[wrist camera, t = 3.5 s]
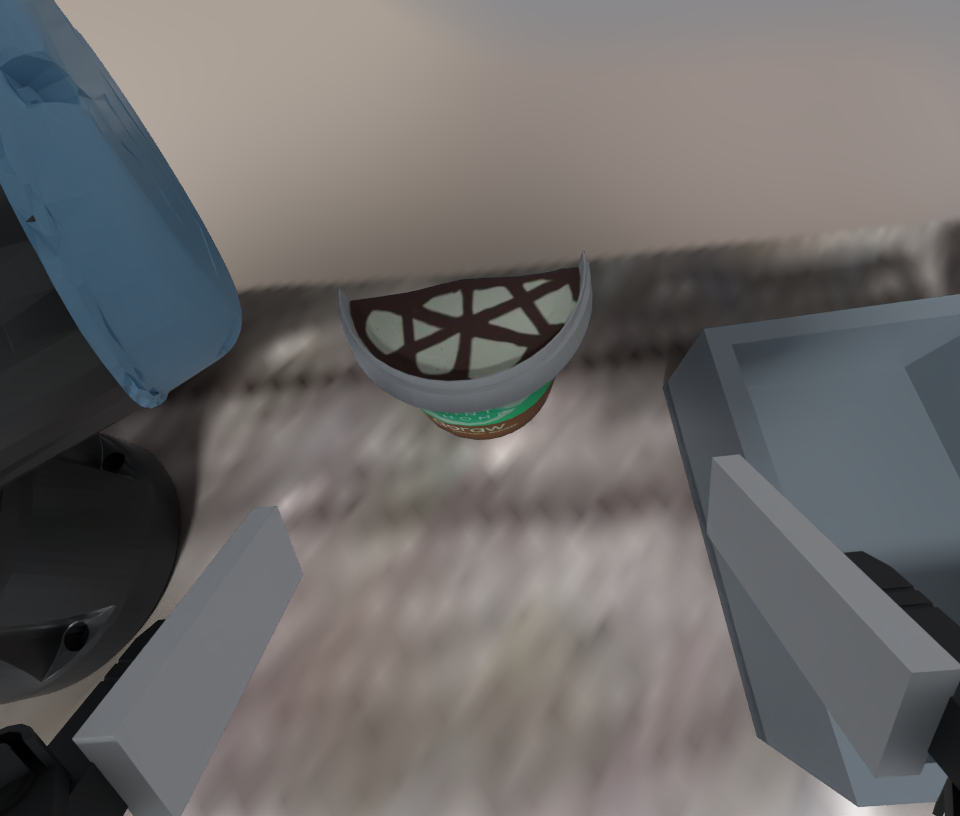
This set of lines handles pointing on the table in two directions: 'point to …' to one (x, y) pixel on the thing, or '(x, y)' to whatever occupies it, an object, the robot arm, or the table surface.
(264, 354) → the table surface
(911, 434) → the charcoal bin
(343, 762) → the table surface
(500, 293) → the food container
